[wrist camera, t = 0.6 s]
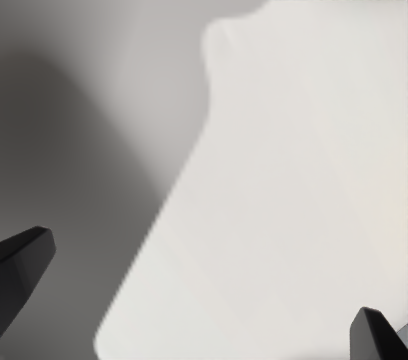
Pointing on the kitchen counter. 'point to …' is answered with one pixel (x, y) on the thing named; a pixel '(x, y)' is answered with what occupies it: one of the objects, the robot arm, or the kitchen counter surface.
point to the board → (404, 335)
